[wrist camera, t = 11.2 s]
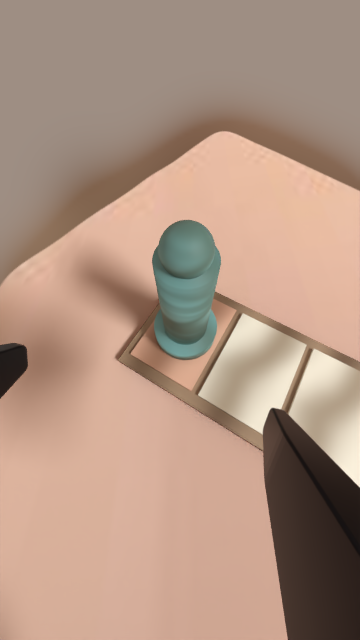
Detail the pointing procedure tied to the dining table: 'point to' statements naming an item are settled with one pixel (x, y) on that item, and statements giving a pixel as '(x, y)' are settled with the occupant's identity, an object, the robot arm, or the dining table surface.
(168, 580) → the dining table surface
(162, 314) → the pawn
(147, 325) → the game board
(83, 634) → the dining table surface
